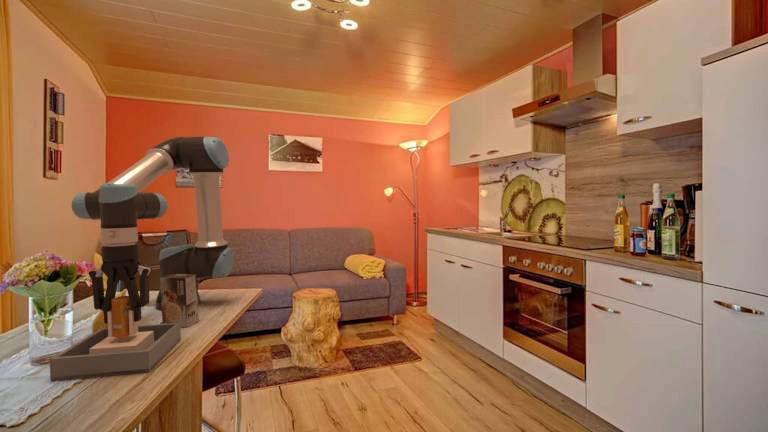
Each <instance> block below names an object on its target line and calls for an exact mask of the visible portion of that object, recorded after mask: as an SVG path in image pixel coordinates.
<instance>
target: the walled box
mask: <svg viewBox="0 0 768 432" xmlns="http://www.w3.org/2000/svg"><path fill="white" fill-rule="evenodd" d="M181 328H182V327H180V323H170V324H162V323H158V324H146V325H145V324H142V325H138V332H146V331H154V343H153V344H152V345H151V346H150V347H149V348H148V349H147V350H138V351H126V352H114V353H101V354H89V349H90V348H92V347H93V346H95V345H96V344H98V343H99V342H101V341H102V340H104V339H105V338H107V337H108V327H102V328H99V329H98V330H97V331H95V332H94V333H93V332H92V333H91V334H90V335H88V336H87V337H85V338H82V340H80V341H78V342H76V343H75V344H73V345H72V346H69V347H68V348H67V349H64V350H63V351H61V352H59V353H58V354H56V355H55V356H53V357H51V358H49V371H50V372H49V373H50V374H49V375H50V382H55V381H56V380H58V381H66V380H68V379H69V380H76V379H75V378H80V379H88V378H90V379H91V378H100V377H101V378H102V377H111V376H113V377H114V376H120V375H121V376H123V375H132V374H133V375H134V374H143V373H144V374H145V373H150V372H152V371H153V369H154V368H155V367H156V366H157V365H158V364H159V363H160V362H161V361H162V360H163V359H164V358H165V357H166V356H167V355H168V354H169V352H170V351H171V350H173V349H174V347H175V346H176V345H177V344H178V343H179V342H181V340H182V337H181V335H182V334H181V332H182V331H181V330H182V329H181Z"/></svg>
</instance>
